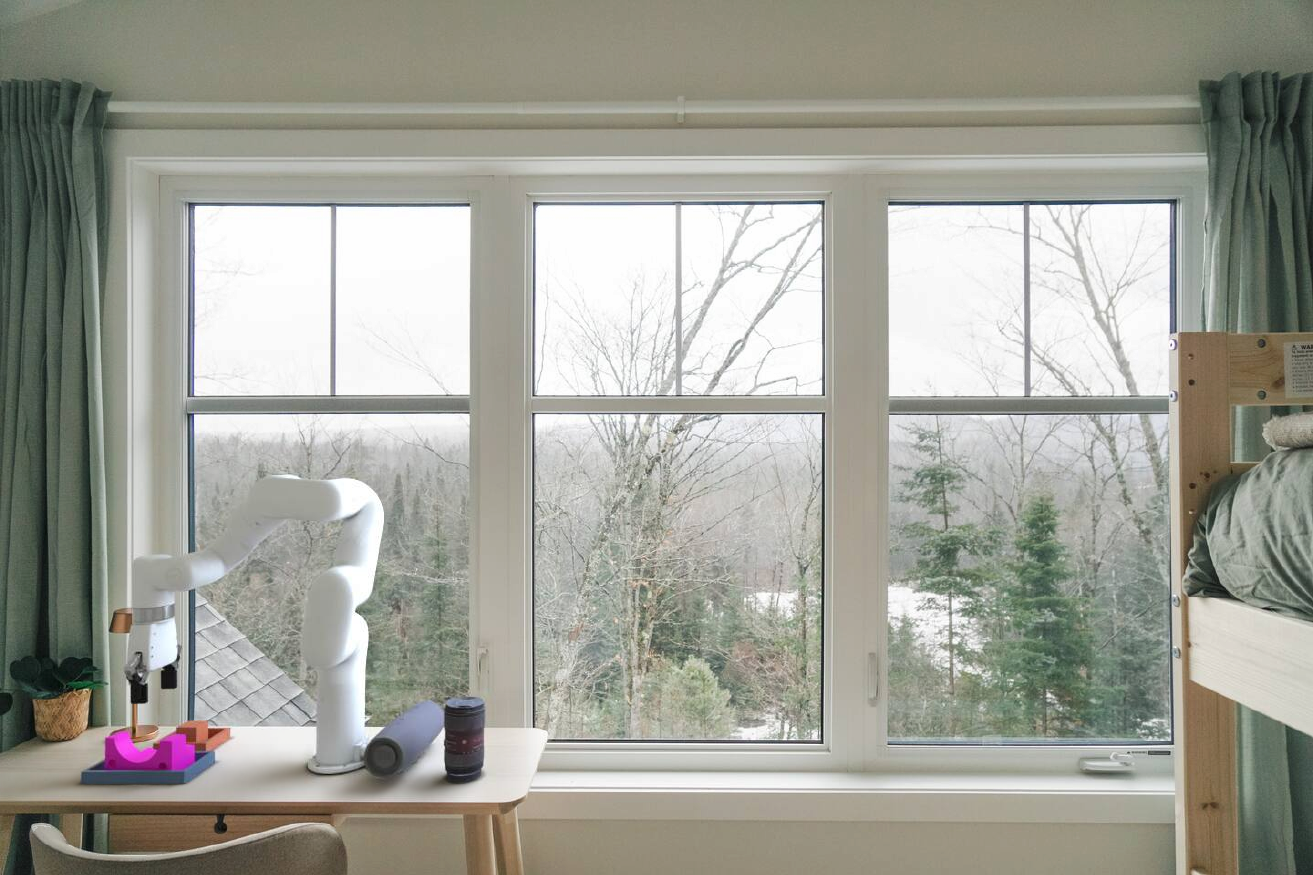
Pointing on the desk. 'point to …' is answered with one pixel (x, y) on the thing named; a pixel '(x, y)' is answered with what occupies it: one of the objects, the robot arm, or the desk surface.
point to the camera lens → (464, 738)
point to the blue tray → (147, 773)
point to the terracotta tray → (214, 740)
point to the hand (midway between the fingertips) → (154, 695)
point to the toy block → (148, 754)
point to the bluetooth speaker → (404, 740)
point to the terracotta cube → (194, 731)
